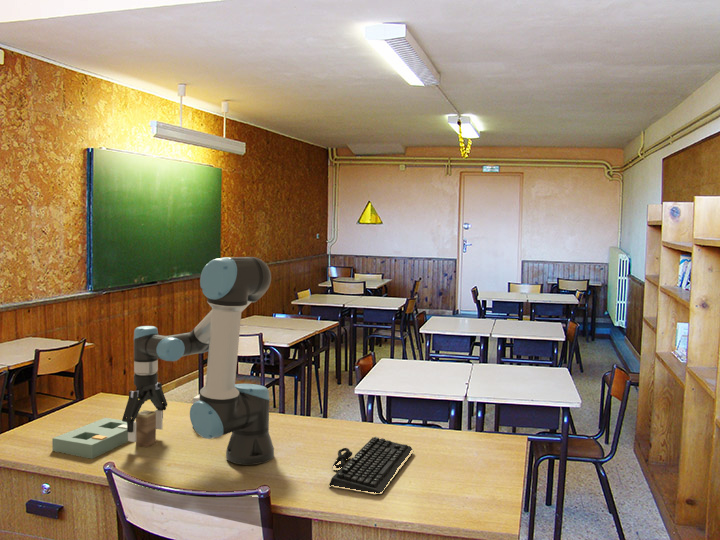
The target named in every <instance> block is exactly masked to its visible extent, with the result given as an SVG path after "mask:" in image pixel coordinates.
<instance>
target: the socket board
mask: <svg viewBox="0 0 720 540" xmlns="http://www.w3.org/2000/svg"><path fill="white" fill-rule="evenodd" d="M51 441H52V442H51V447H52V449H51V450H52V452H53V451H55V452H54V453H59V452H62V453H61V454H64V453H66V454H65V455H69V454H71V455H70V456H75V455H76V456H75V457H80V456H81V458H86V459H91V460H93V459H95V458H96V457H99V456H102V455H103V454H105V453H107V452H110V451H111V450H113V449H116V448H117V447H120V446H122V445H123V444H126V443H128V442H129V441H128V432H127V422H123V421H122V419H117V418H110V417H103V418H101V419H97V420H96V421H93V422H91V423H89V424H86V425H83V426H81V427H78V428H75V429H73V430H70V431H68V432H64V433H62V434H60V435H57V436H55V437H53V438H52V437H51Z"/></svg>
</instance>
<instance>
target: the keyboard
mask: <svg viewBox="0 0 720 540" xmlns="http://www.w3.org/2000/svg"><path fill="white" fill-rule="evenodd" d="M411 450H413V448H412V446H411V445H408V444H401V443H398V442H395V441H391V440H388V439H385V438H383V437H381V438H380V437H378V436H374V437H371V438H370V439H369V441H368V442H367V443H365V445H364V446H363V447H362V448H360V449H359V451H357V453H356V454H354V457H352V455H353V452H352V451H351V450H350V449H349V448H348V447H343V448H340V449H339V450H338V451H337V458H336V459H335V461H334V463H333V465H332V467H333V466H334V465H335V466H337V467H340V468H341V467H342V468H341V469H340V470H339V471H336V473H335V474H334V475H333V476H332V477H331V478H330V482H329V484H328V486H329V485H330V486H331V485H334V486H339V487H345V488H350V489H356V490H361V491H368V492H374V493H375V492H376V493H380V492H382V491H383V490H384V488H385V487H386V485H387V484H388V482H389V481H390V479H391V478H392V477H393V475H394V474H395V472H396V470H397V468H398V467H399V466H400V465H401V463H402V462H403V461H404V460H405V458H406V457H407V456H408V455H409V453H410V451H411ZM342 452H343V454H342ZM349 457H350V458H351V457H352V458H351V459H350V460H349V459H348V458H349ZM346 459H348V461H347V460H346ZM336 460H337V461H336ZM339 461H341V464H339V465H336V464H337V463H338V462H339ZM345 461H346V462H345Z"/></svg>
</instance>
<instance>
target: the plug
mask: <svg viewBox="0 0 720 540" xmlns="http://www.w3.org/2000/svg"><path fill="white" fill-rule="evenodd" d="M135 422H136V442H135V446H138V447H143V448H148V447H151V446H152V445H154V444H156V442H157V438H156V437H157V433H156V432H157V431H156V430H157V429H156V412H155V410H154V411H153V410H146V409H144V410H142V411H139V412H138V415H137V417H136V419H135Z"/></svg>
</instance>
